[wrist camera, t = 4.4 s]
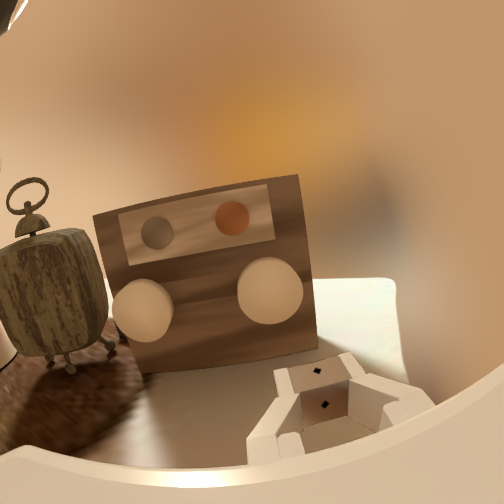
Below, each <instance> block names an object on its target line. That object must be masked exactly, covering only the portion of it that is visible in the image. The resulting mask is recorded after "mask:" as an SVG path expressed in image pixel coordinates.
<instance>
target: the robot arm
mask: <svg viewBox="0 0 504 504" xmlns="http://www.w3.org/2000/svg"><path fill="white" fill-rule="evenodd" d="M27 1H28V0H0V36H1V35H2V34H4V33H5V32H6V31H7V30H9V28H10V26H11V24H12V23H13V22H14V20H15V19H16V18H17V17H18V16H19V14H20V13H21V11H22V10H23V8H24V6H25V5H26V3H27ZM0 170H1V153H0ZM16 352H17V350H16V349H15V348H14V346H13V345H12V343H11V341H10V339H9V338H8V336H7V333H6V331H5V329H4V327H3V324H2V322H1V320H0V368H2V367H3V366H5V365H6V364H7V363H8V362H9V361H10V360H11V359H12V358H13V357H14V356H15V354H16ZM273 371H274V378H275V383H276V389H277V395H278V397H277V398H275V399H274V401H273V402H272V404H271V405H270V406H269V408H268V409H267V411H266V412H265V414H264V415H263V417H262V418H261V419H260V421H259V422H258V424H257V425H256V426H255V428H254V429H253V431H252V432H251V433H250V435H249V436H248V437H247V439H246V445H247V460H248V464H247V465H238V466H228V467H214V468H185V469H178V468H149V467H135V466H125V465H117V464H109V463H103V462H97V461H91V460H85V459H80V458H76V457H71V456H67V455H63V454H59V453H55V452H51V451H48V450H44V449H41V448H38V447H35V446H31V445H24V446H21V447H19V448H16V449H14V450H12V451H10V452H7V453H5V454H3V455H1V456H0V504H504V363H503V364H502V365H500V366H499V367H498V368H496V369H495V370H493V371H492V372H491V373H489V374H488V375H486V376H485V377H483V378H482V379H480V380H479V381H477V382H476V383H474V384H473V385H471V386H470V387H468V388H466V389H465V390H463V391H461V392H460V393H458V394H456V395H455V396H453V397H451V398H450V399H448V400H446V401H444V402H442V403H441V404H439V405H437V406H436V405H435V404H434V403H433V401H432V400H431V399H430V398H429V397H428V396H427V395H426V394H425V392H424V391H423V390H422V389H421V388H417V387H414V386H410V385H407V384H404V383H400V382H397V381H394V380H391V379H387V378H384V377H381V376H378V375H375V374H372V373H368V374H366V372H365V371H364V370H363V368H362V367H361V365H360V364H359V363H358V361H357V360H356V359H355V357H354V356H353V354H352V353H351V352H347V353H343V354H340V355H337V356H335V357H331V358H327V359H324V360H320V361H316V362H311V363H306V364H301V365H296V366H291V367H287V368H282V369H276V370H273ZM346 415H348V416H349V417H350V418H352V419H354V420H355V421H357V422H359V423H361V424H362V425H364V426H366V427H367V428H369V429H371V430H373V431H374V432H376V433H374V434H371V435H369V436H366V437H363V438H360V439H357V440H354V441H351V442H348V443H345V444H342V445H338V446H335V447H331V448H328V449H324V450H320V451H317V452H313V453H308V454H305V450H304V447H303V444H302V440H301V437H300V436H301V433H302V431H303V429H304V427H305V426H309V425H313V424H316V423H320V422H323V421H327V420H331V419H335V418H339V417H342V416H346Z"/></svg>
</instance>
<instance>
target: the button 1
mask: <svg viewBox="0 0 504 504" xmlns="http://www.w3.org/2000/svg"><path fill="white" fill-rule="evenodd" d="M173 313H174V306H173V302H172V299H171V297H170V295H169V293H168V292H167V291H166V289H165V288H164V287H162V284H161V283H160V284H158V283H157V282H155V281H152V280H149V279H137V280H134V281H131V282H130V283H128V284H127V285H126V286H125V287H124V288H123V289H122V290H121V291H120V292H119V293H118V294H117V295H116V296H115V298H114V301H113V304H112V314H113V318H114V321H115V323H116V325H117V326H118V328H119V329H120V330H121V331H122V332H123V333H124V334H125V335H126V336H128V337H129V338H131V339H133V340H136V341H139V342H153V341H156V340H158V339H159V338H161V337H162V336H163V335H164V334H165V333H166V331H167V329H168V327H169V324H170V322H171V320H172V317H173Z"/></svg>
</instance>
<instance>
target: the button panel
mask: <svg viewBox="0 0 504 504" xmlns="http://www.w3.org/2000/svg"><path fill="white" fill-rule="evenodd" d="M93 221H94V226H95V230H96V235H97V240H98V244H99V248H100V253H101V257H102V261H103V265H104V268H105V272H106V275H107V279H108V283H109V286H110V290H111V293H112V296H113V299H114V298H115V296H116V295H117V294H118V293H119V292H120V291H121V290H122V289H123V288H124V287H125V286H126V285H127V284H128V283H130V282H131V281H134V280H137V279H149V280H152V281H155V282H157V283H158V284H160V283H161V284H162V287H164V288H165V289H166V291H167V292H168V293H169V295H170V297H171V299H172V302H173V306H174V313H173V317H172V320H171V322H170V324H169V327H168V329H167V331H166V333H165V334H164V335H163V336H162V337H161V338H159V339H158V340H156V341H153V342H139V341H136V340H133V339H131V338H129V337H128V336H126V337H127V340H128V343H129V345H130V348H131V350H132V353H133V355H134V358H135V360H136V363H137V365H138V368H139V370H140V372H141V374H144V373H160V372H172V371H183V370H193V369H202V368H210V367H218V366H225V365H232V364H239V363H245V362H251V361H257V360H263V359H268V358H273V357H279V356H284V355H289V354H293V353H298V352H303V351H307V350H311V349H316V348H318V339H317V326H316V314H315V303H314V293H313V283H312V274H311V265H310V257H309V249H308V240H307V233H306V225H305V218H304V210H303V204H302V197H301V190H300V185H299V178H298V174H296V175H288V176H281V177H274V178H267V179H261V180H254V181H248V182H242V183H236V184H231V185H226V186H220V187H214V188H209V189H204V190H199V191H194V192H189V193H185V194H180V195H175V196H170V197H166V198H161V199H156V200H152V201H148V202H144V203H139V204H135V205H132V206H127V207H123V208H119V209H116V210H112V211H108V212H105V213H101V214H97V215H94V216H93ZM263 257H275V258H279V259H281V260H283V261H285V262H287V263H288V264H289V265H290V266H291V267H292V268H293V270H294V271H295V272H296V273H297V275H298V276H299V278H300V280H301V282H302V286H303V298H302V302H301V304H300V306H299V308H298V309H297V311H296V312H295V313H294V314H293V315H292V316H291V317H290V318H288V319H287V320H285V321H283V322H280V323H276V324H262V323H258V322H255V321H253V320H252V319H250V318H249V317H248V316H246V315H245V313H244V312H243V311H242V309H241V307H240V305H239V301H238V290H237V284H238V279H239V276H240V274H241V272H242V271H243V269H244V268H245V267H246V266H247V265H248V264H249V263H251V262H252V261H254V260H256V259H259V258H263Z"/></svg>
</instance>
